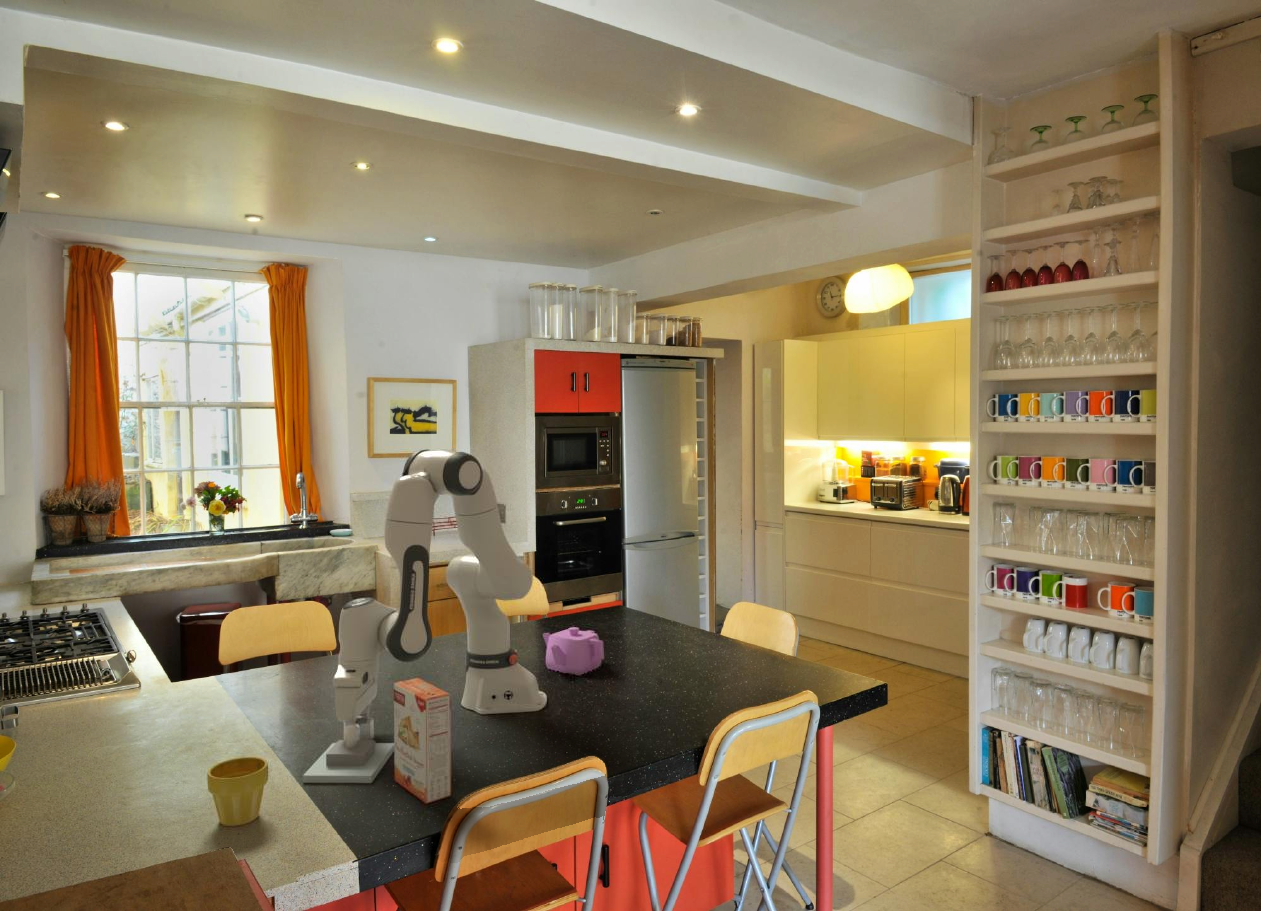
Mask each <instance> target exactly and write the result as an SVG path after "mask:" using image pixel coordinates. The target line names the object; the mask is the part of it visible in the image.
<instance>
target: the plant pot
mask: <svg viewBox="0 0 1261 911" xmlns="http://www.w3.org/2000/svg"><path fill="white" fill-rule="evenodd" d="M268 763H269V762H268V761H267V760H266V759H264V758H262V757H259V756H258V757H257V756H243V757H242V756H241V757H235V758H234V757H233V758H231V759H227V760H224V761H221V762H218V763H216V764H214V765H212V766H211V767H210V768H209V769H208V770H207V773H206V775H207V776H206V777H207V782H206V783H207V790H208V792H209V793H210V794H211V795H212V798H213V802H214V805H215V810H216V812H217V817H218V819H219V820H218V821H219V823H220V824H221V825H223V826H225V827H237V826H243V825H247V824H249V823H251V822H253V821H255V820H256V819H257V818H258V817H259V814H260V811H261V804H262V799H263V794H264V790H265V789H264V788H265V785H266V784H267V783H268V781H269V764H268Z"/></svg>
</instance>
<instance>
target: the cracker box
mask: <svg viewBox="0 0 1261 911" xmlns="http://www.w3.org/2000/svg"><path fill="white" fill-rule="evenodd" d="M451 698H452V695H451V693H449V692H446V691H444V690H442V689H440V688H439V687H437V686H435V685H433V684H431V683H429V682H428V681H427V682H426V681H425V680H423V679H421V678H419V677H416V678H412V679H405V680H400V681H396V682H394V683H393V711H394V712H393V715H394V716H393V719H394V720H393V727H394V730H393V731H394V733H393V738H394V739H393V741H394V742H393V743H394V752H393V754H394V781H395V782H396V783H397V784H399V785H400V786H401V787H403V789H405V790H407V791H408V792H409V793H411V794H412V795H413V796H414V797H417V798H418V799H419V800H421V802H422V803H424V804H431V803H433V802H436V801H440V800H442V799H443V800H444V799H446V798H449V797H451V796H452V730H451V729H452V728H451V727H452V723H451V722H452V719H451V718H452V710H451V708H452V704H451V703H452V699H451Z"/></svg>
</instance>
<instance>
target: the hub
mask: <svg viewBox="0 0 1261 911" xmlns="http://www.w3.org/2000/svg"><path fill="white" fill-rule="evenodd" d="M374 720H375V719H374V718H373V717H371V716H369V715H368V716H359V715H358V716H357V717H356V721H355V725H356V727H357V730H356V731H357V732H356V737H357V740H373V739H375V735H374V733H375V732H374V731H375V728H374V726H375V723H374V722H375V721H374ZM343 740H346V725H345V722H343Z"/></svg>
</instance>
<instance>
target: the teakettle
mask: <svg viewBox="0 0 1261 911" xmlns="http://www.w3.org/2000/svg"><path fill="white" fill-rule="evenodd" d="M595 632H596V631H594V630H589V629H588V630H580V628H579V627H575V626H572V627H569V628H568V629H567V628H566V629H565V630H561V631H558V632H554V633H552V634H550V633H551V632H545V633H542V636H543V640H544V643H545V646H546V650H545V651H546V652H545V665H546V668H548V669H547V670H549V669H551V670H550V671H553V670H554V671H553V672H557V671H559V672H558V673H561V672H562V673H563V674H566V673H569V674H568V675H573V674H575V675H574V676H582V674H584V673H586V674H588V673H587V672H588V671H591V672H593V671H592V670H593V669H596V668H598V667H599V666H600V667H601V665H602V660H604V659H605V652H604V650H605V649H604V640H601V639H600V637H599V634H598V633H595ZM598 669H599V668H598ZM596 670H597V669H596ZM570 673H571V674H570ZM584 675H585V674H584Z"/></svg>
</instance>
